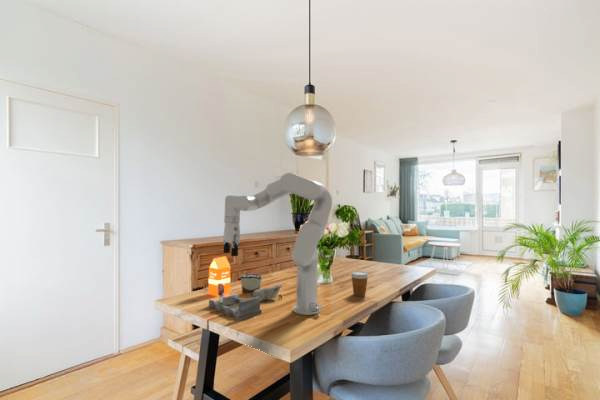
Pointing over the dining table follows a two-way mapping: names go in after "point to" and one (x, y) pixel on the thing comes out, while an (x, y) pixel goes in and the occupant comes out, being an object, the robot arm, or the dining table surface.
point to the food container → (250, 283)
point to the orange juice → (219, 275)
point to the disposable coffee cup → (359, 282)
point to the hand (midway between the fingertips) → (230, 254)
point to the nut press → (239, 308)
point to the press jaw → (226, 296)
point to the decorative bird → (267, 292)
